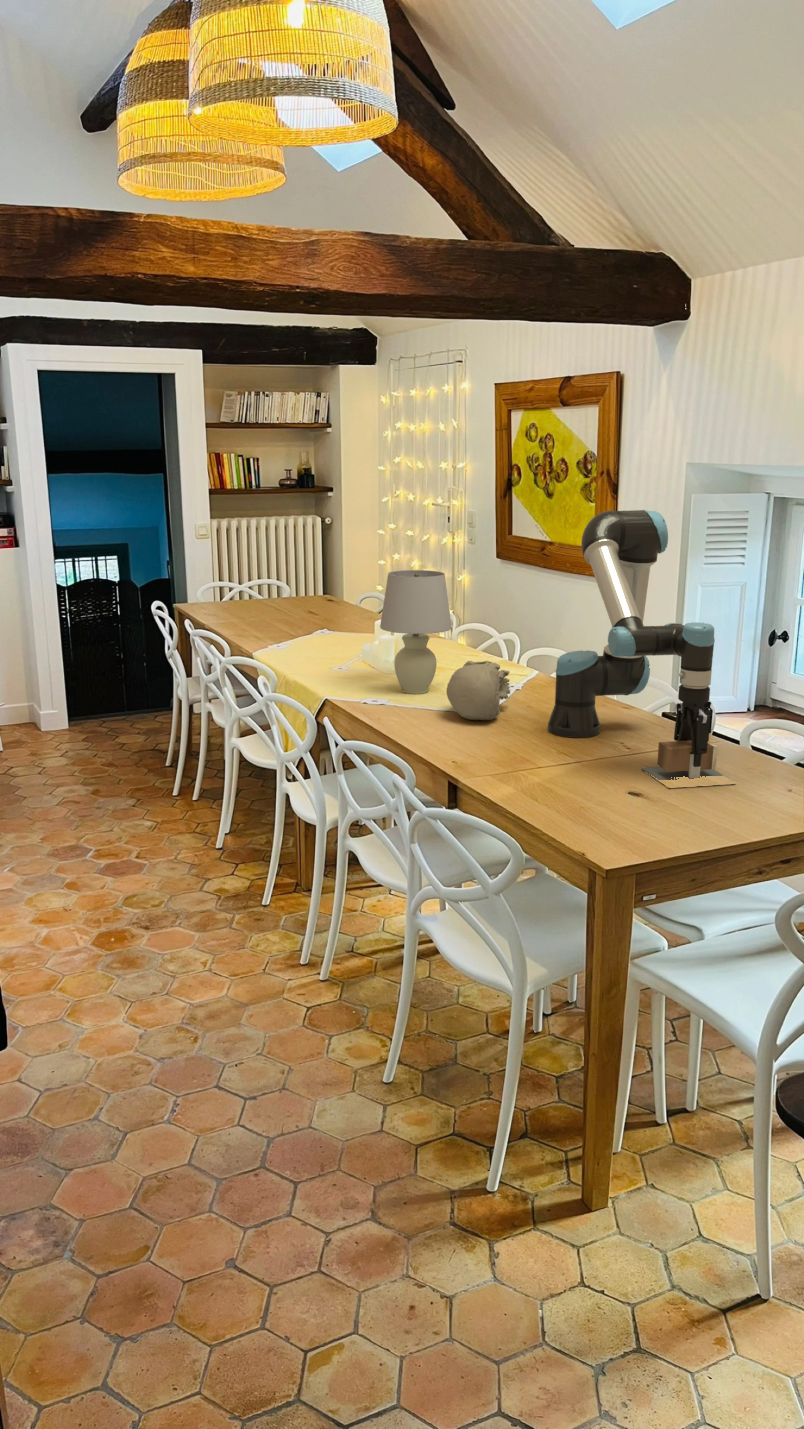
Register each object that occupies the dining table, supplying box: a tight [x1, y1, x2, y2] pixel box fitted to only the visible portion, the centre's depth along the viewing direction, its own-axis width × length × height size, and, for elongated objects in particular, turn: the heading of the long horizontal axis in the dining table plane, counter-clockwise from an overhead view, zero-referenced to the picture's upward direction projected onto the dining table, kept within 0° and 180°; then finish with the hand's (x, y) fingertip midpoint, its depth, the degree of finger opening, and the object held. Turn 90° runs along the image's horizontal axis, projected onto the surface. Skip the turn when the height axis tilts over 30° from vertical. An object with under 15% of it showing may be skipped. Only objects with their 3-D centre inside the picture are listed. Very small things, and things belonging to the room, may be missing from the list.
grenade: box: [688, 700, 714, 742], centre depth 292 cm, size 7×7×15 cm
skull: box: [446, 660, 511, 721], centre depth 327 cm, size 21×25×20 cm
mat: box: [641, 766, 724, 780], centre depth 271 cm, size 16×18×1 cm
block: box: [656, 740, 718, 772], centre depth 270 cm, size 6×6×13 cm
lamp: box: [379, 569, 453, 695], centre depth 356 cm, size 24×24×40 cm
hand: (687, 773), depth 271 cm, fingers closed on block, 6 cm apart
